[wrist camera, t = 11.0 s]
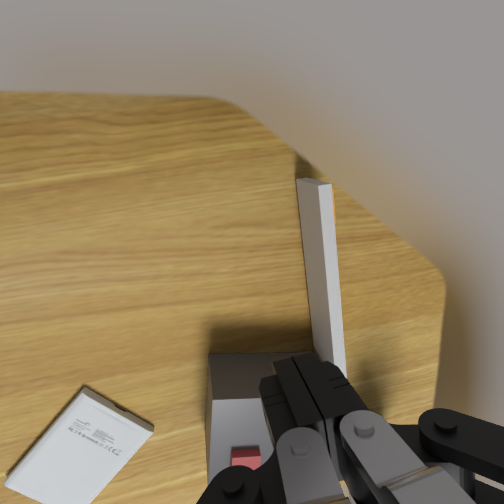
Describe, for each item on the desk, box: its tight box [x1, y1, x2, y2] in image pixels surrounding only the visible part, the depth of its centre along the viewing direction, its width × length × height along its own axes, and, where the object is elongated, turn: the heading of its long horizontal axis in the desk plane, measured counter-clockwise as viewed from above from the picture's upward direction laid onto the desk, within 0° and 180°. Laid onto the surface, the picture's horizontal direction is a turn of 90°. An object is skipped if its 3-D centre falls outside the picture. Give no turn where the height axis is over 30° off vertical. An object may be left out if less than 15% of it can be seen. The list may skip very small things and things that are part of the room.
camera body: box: [205, 352, 321, 485], centre depth 35 cm, size 13×9×8 cm
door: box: [296, 177, 348, 380], centre depth 33 cm, size 18×2×6 cm, turn 9°
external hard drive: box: [4, 387, 154, 504], centre depth 37 cm, size 2×8×12 cm
